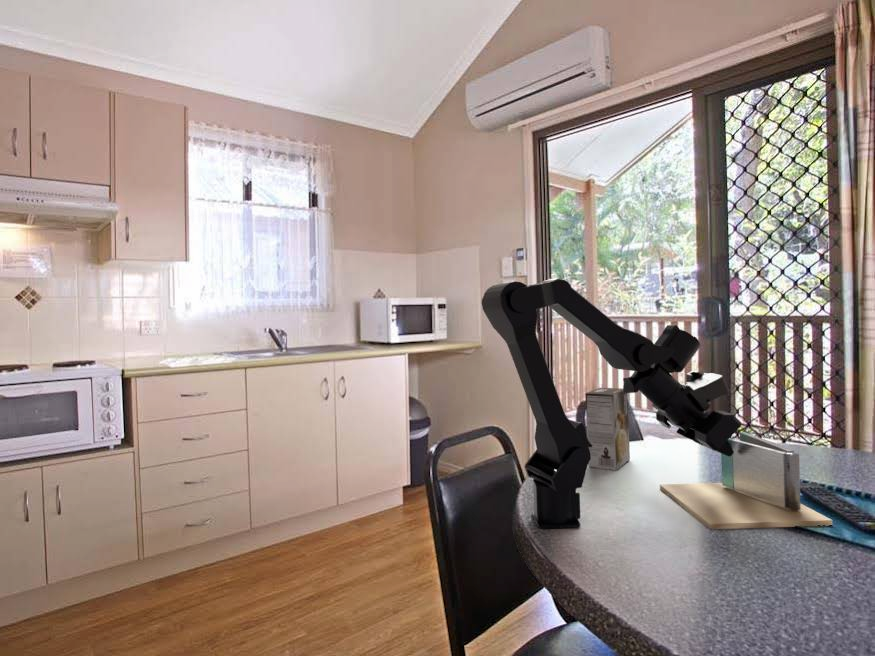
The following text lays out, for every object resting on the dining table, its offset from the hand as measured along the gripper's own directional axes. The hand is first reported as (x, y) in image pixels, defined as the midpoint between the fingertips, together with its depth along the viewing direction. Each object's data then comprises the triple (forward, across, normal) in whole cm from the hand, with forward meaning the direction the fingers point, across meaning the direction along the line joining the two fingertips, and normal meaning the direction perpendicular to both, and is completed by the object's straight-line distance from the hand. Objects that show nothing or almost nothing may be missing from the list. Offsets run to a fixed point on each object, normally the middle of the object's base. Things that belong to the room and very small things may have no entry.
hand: (727, 452), depth 89 cm
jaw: (+6, -4, +2) cm, 8 cm away
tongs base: (+4, -4, +6) cm, 9 cm away
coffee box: (-3, +22, +15) cm, 27 cm away
